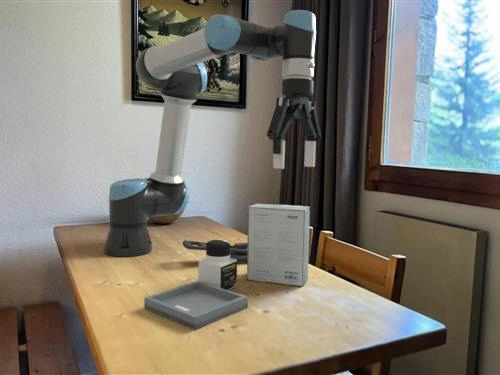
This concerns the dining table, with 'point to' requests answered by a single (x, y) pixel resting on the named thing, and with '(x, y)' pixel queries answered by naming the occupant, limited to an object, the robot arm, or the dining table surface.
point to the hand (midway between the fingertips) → (294, 167)
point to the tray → (196, 304)
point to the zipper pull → (236, 250)
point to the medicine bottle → (218, 266)
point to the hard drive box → (278, 243)
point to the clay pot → (164, 218)
